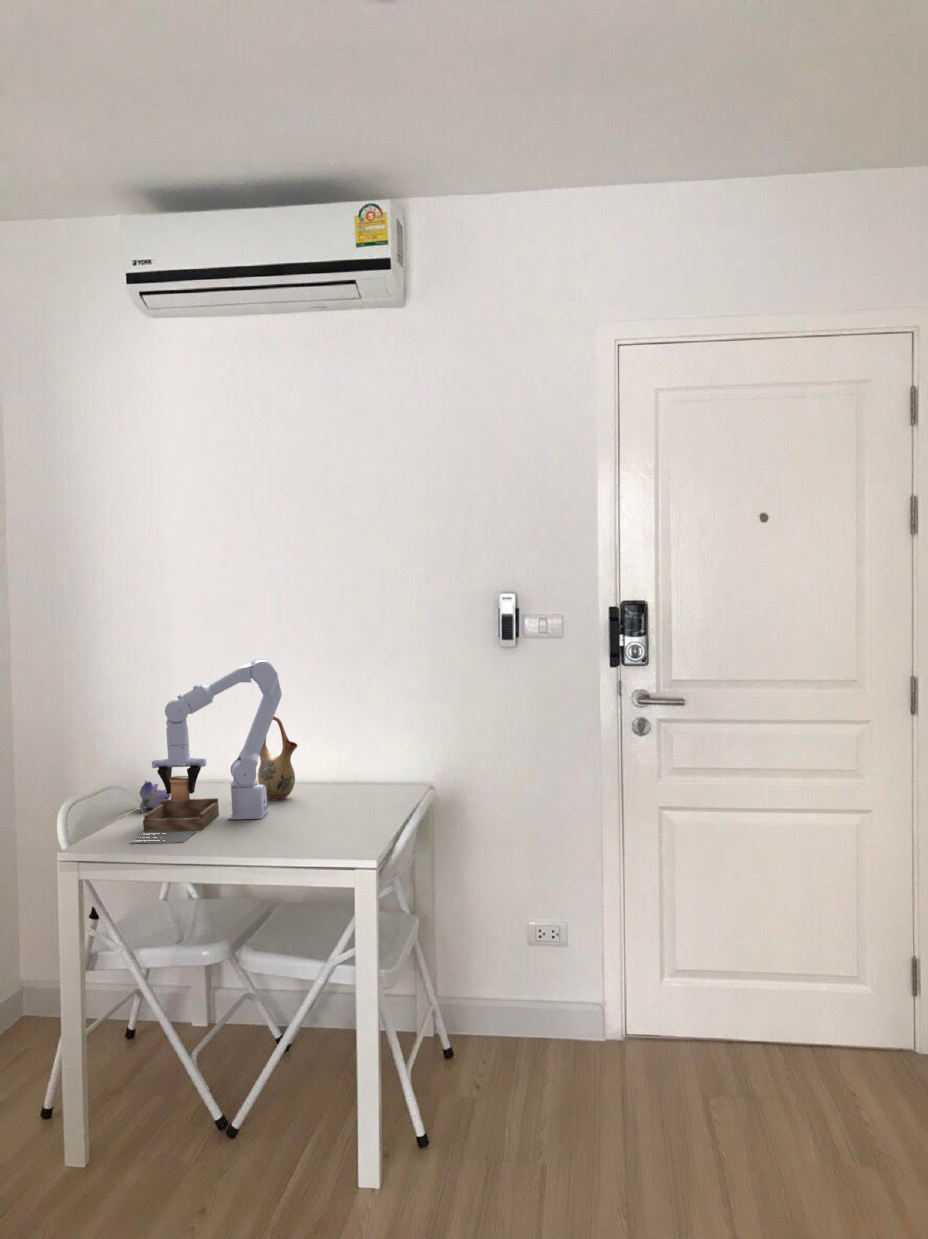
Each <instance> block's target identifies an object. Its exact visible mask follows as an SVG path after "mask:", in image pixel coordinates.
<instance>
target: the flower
mask: <svg viewBox="0 0 928 1239" xmlns="http://www.w3.org/2000/svg"><path fill="white" fill-rule="evenodd" d="M158 786H159V784H158V783H154V784H153V783H152V781H150V780H148V779H146V780H145V781H144V783H143V785H142V786H141V788H140V790H139V796H140V797H141V802H140V804H139V809H140V810H139V811H140V814H141V813H145V812H144V810H145V808H146V809H152V810H153V809H154V808H156V807H157V806H159V805H160V804H161V800H167V799H170V798H171V794H167V792H166V789H160V788H159V789H158Z"/></svg>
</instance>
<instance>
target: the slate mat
mask: <svg viewBox="0 0 928 1239" xmlns="http://www.w3.org/2000/svg"><path fill="white" fill-rule="evenodd" d="M157 833H160V834H155V835H153V834H150V835H146V834H145V835H143V833H142V834H140V835H139V836H138V837H139V838H138V837H136V838H134V840H160V841H145V842H144V841H141V842H140V841H139V842H137V841H135V842H134V841H133V840H132V841H133V842H132V841H130V843H131V844H130V845H138V844H137V843H143V844H142V845H145V844H144V843H153V844H183V843H185V842H186V841H187V840H189V838H191V837H192V836H194V835H195V834H196V831H166V832H165V831H160V832H159V831H157ZM162 833H166V834H162ZM140 837H141V838H140ZM142 837H145V838H142ZM146 837H150V838H146ZM153 837H157V838H153ZM161 837H162V838H161ZM163 840H165V841H163Z"/></svg>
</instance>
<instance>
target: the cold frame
mask: <svg viewBox="0 0 928 1239" xmlns="http://www.w3.org/2000/svg"><path fill="white" fill-rule="evenodd" d="M219 816H220V811H219V798H216V797H211V798H209V797H208V798H205V797H204V798H190V800H188V801H183V802H174V801H171V798H169V799H167V800H161V804H160V805H159V806H157V807H156V808H154V809H153V808H152V810H150V811H148V812H147V813H146V814H144V816H143V819H142V825H143V826H142V828H143V831H144V830H172V831H202V830H204V829H205V828H206V827H208V826H209V825H210V824H211V823H213V821H215V820H216V819H217V818H219ZM165 817H182V818H165ZM164 818H165V819H164Z"/></svg>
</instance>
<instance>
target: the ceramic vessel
mask: <svg viewBox="0 0 928 1239" xmlns="http://www.w3.org/2000/svg"><path fill="white" fill-rule="evenodd" d="M272 721H275V722H276V723H277V725H278V728H279V731H280V735H281V742H282V748H281V749H282V750H281V753H280V754H279V755H278V756H276V755H273V754H272V753H271V752H270V751H269V749H268V747H267V737H266V738H265V741H264V743H263V746H262V749H261V751H260V754H259V759H260V764H259V768H258V769H257V784H260V785H265V786H266V792H267V799H270V800H272V799H281V800H284V799H286V798H288V797H289V796H290V794H291V793H292V791H293V789H294V788H295V787H294V786H295V783H296V775H295V769H294V768H293V764H292V761H291V758H292V755H293V752H294V751H295V750H296V749H297V748H298V747H299V745H298V744H297V743H296V742H295V741H290V740H289V738H288V735H287V734H286V733H287V732H286V730H285V728H284V724H283V723H282V721H281V719H280V718H279V717H278V716H275V715H274V717H273V720H272Z"/></svg>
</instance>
